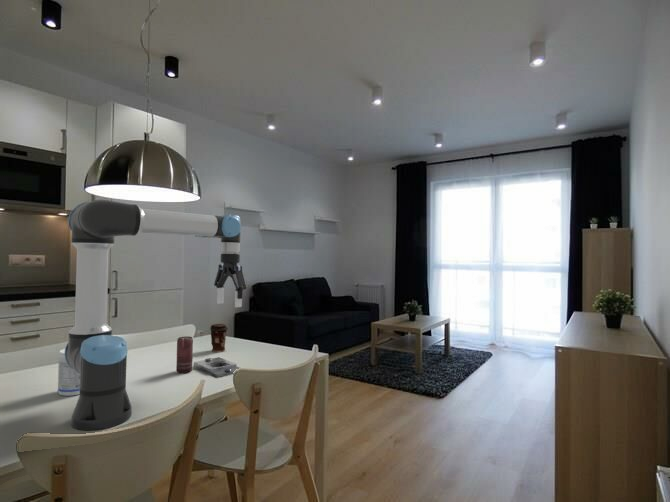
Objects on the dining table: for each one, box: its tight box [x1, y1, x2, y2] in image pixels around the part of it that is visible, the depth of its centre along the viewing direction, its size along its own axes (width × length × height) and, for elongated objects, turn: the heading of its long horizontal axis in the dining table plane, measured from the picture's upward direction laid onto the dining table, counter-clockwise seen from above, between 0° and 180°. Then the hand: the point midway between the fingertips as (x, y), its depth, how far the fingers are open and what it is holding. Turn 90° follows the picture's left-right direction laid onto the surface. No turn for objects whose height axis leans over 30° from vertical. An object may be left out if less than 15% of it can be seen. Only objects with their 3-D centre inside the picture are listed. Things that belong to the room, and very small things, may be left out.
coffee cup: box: [209, 323, 228, 353], centre depth 197 cm, size 9×8×13 cm
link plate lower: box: [199, 363, 241, 379], centre depth 164 cm, size 12×14×2 cm
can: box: [175, 336, 194, 375], centre depth 162 cm, size 6×6×14 cm
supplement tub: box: [57, 348, 80, 397], centre depth 136 cm, size 10×10×15 cm
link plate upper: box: [193, 356, 237, 372], centre depth 168 cm, size 12×14×3 cm
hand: (229, 305), depth 160 cm, fingers open, 13 cm apart
